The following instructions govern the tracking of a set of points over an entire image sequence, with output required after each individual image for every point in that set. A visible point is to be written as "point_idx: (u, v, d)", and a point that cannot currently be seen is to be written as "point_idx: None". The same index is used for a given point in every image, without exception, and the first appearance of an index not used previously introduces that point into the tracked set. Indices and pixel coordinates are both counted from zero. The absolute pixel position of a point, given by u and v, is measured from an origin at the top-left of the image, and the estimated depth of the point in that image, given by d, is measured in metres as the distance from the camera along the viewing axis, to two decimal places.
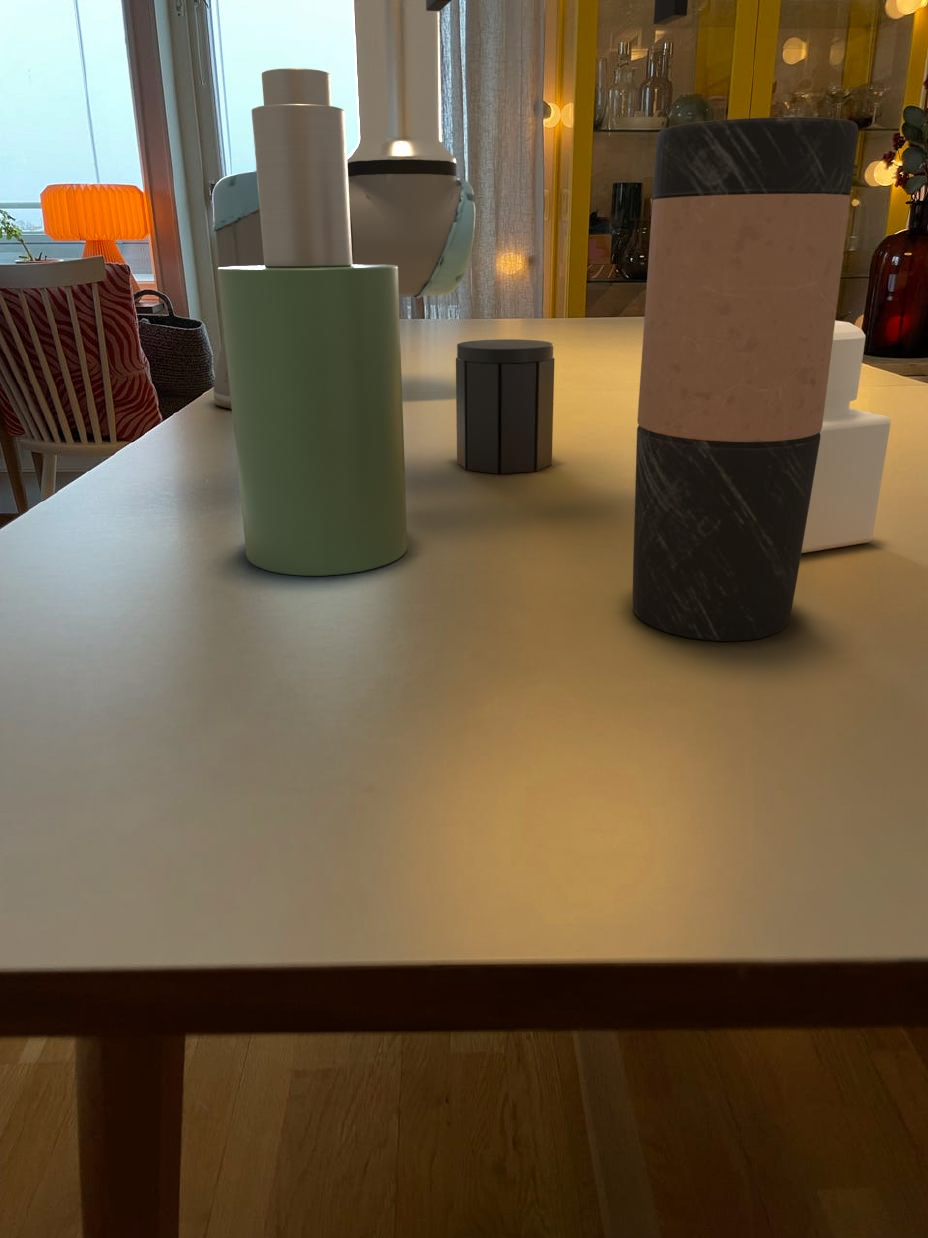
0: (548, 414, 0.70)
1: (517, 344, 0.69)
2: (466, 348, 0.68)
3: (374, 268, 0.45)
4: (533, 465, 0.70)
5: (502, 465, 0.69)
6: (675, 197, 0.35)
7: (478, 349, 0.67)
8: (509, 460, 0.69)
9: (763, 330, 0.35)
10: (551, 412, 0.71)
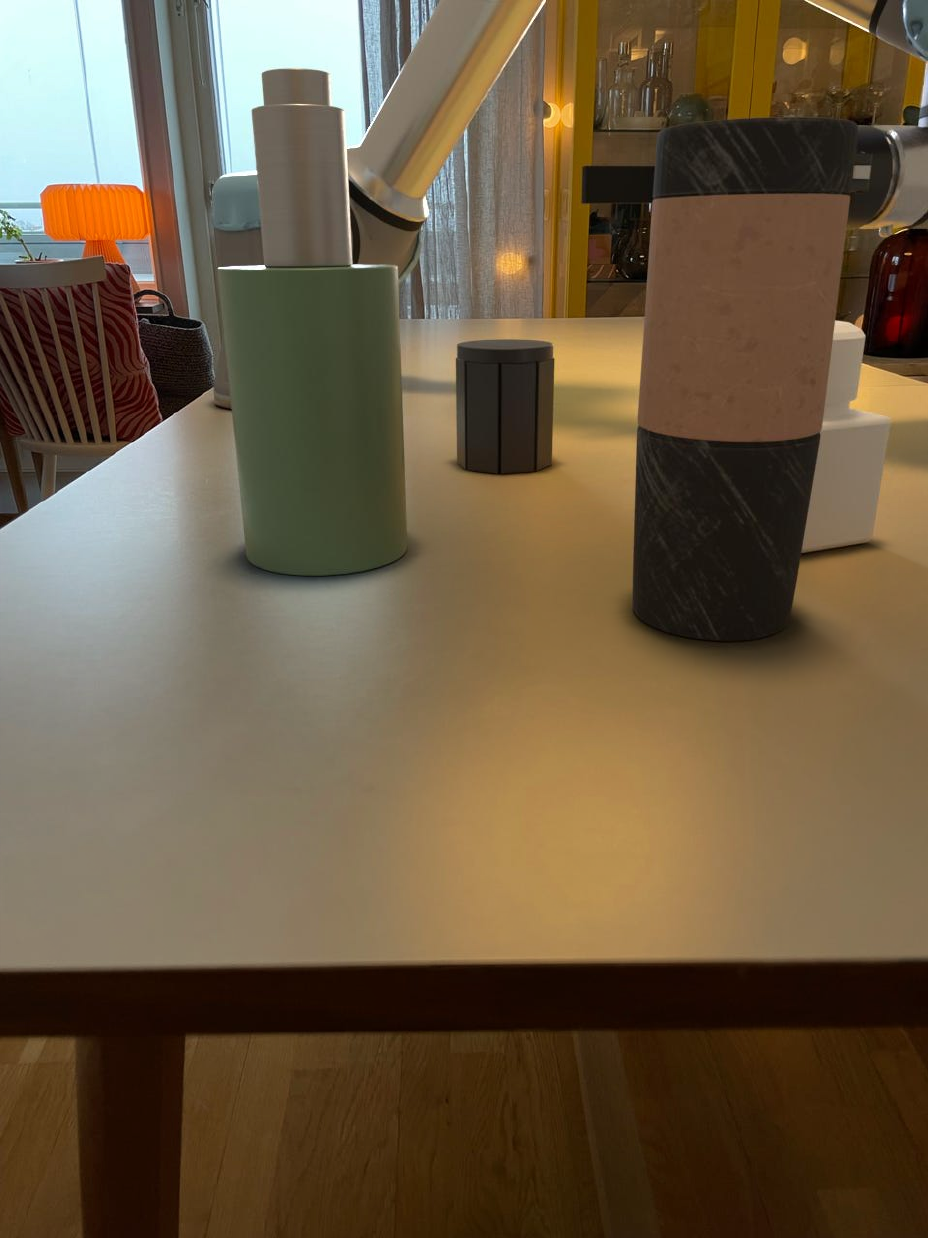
0: (548, 414, 0.70)
1: (517, 344, 0.69)
2: (466, 348, 0.68)
3: (374, 268, 0.45)
4: (533, 465, 0.70)
5: (502, 465, 0.69)
6: (675, 197, 0.35)
7: (478, 349, 0.67)
8: (509, 460, 0.69)
9: (763, 330, 0.35)
10: (551, 412, 0.71)
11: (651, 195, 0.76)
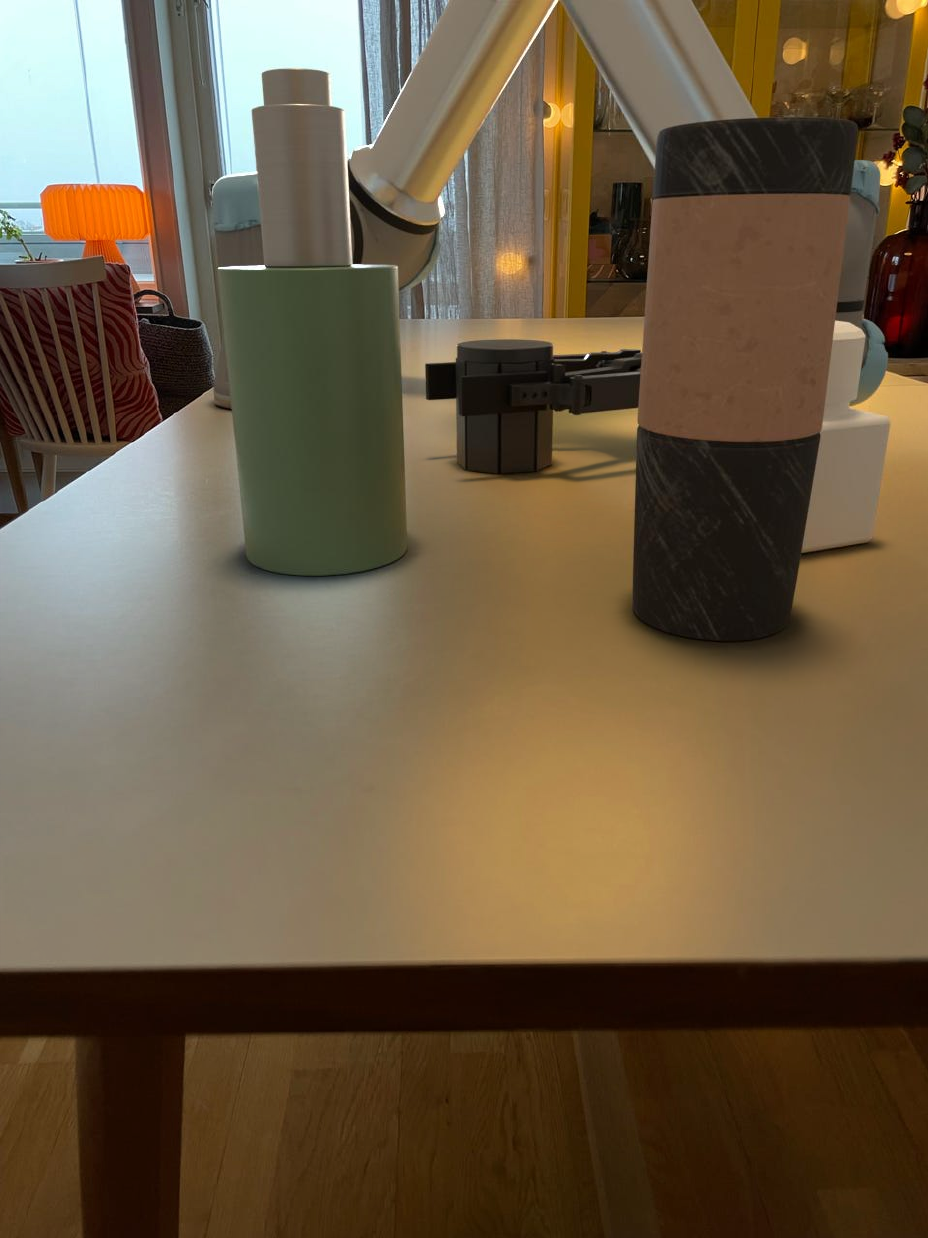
0: (548, 414, 0.70)
1: (517, 344, 0.69)
2: (466, 348, 0.68)
3: (374, 268, 0.45)
4: (533, 465, 0.70)
5: (502, 465, 0.69)
6: (675, 197, 0.35)
7: (478, 349, 0.67)
8: (509, 460, 0.69)
9: (763, 330, 0.35)
10: (551, 412, 0.71)
11: None
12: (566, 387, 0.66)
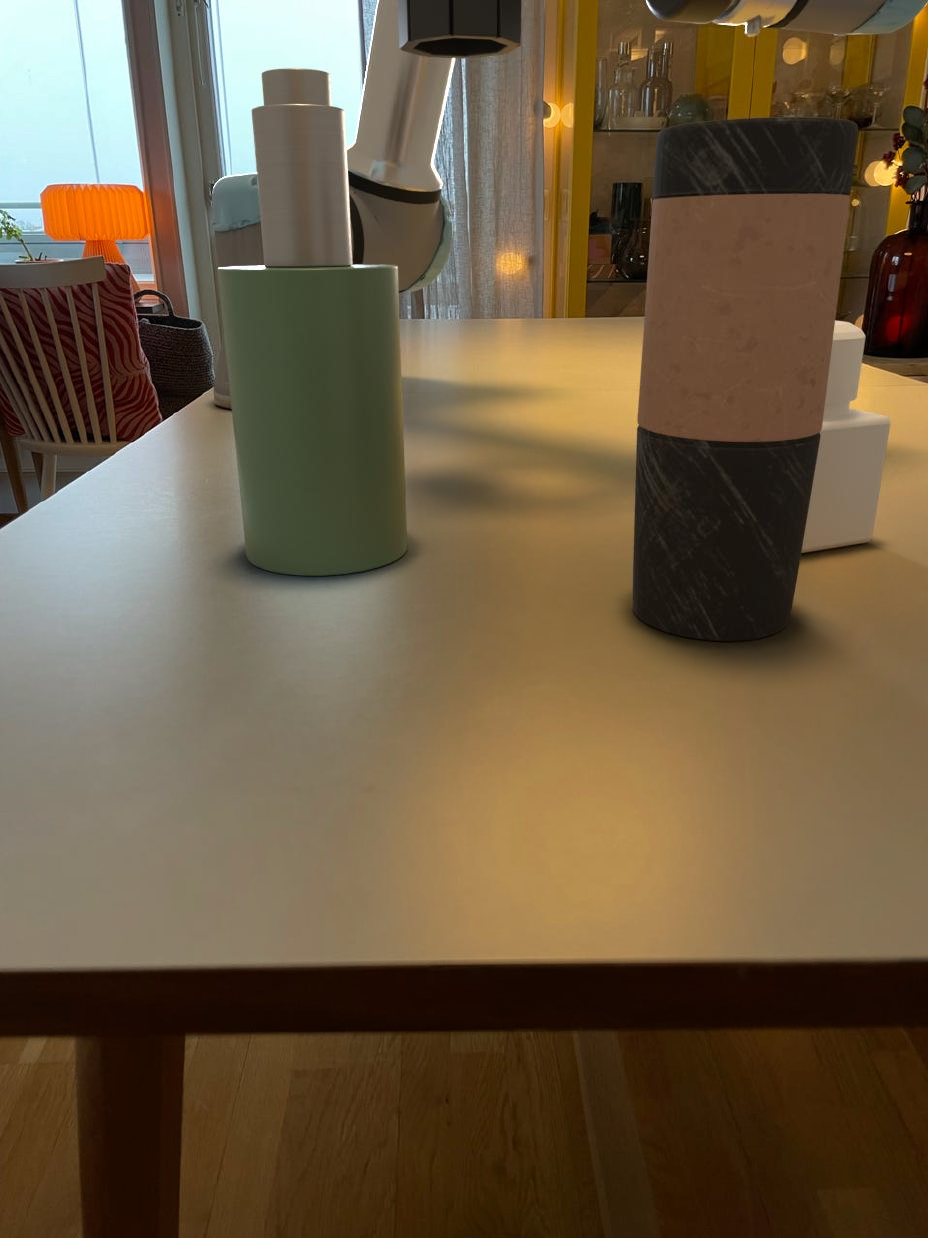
0: None
1: None
2: None
3: (374, 268, 0.45)
4: (496, 27, 0.54)
5: (455, 21, 0.53)
6: (675, 197, 0.35)
7: None
8: (463, 14, 0.53)
9: (763, 330, 0.35)
10: None
11: None
12: None
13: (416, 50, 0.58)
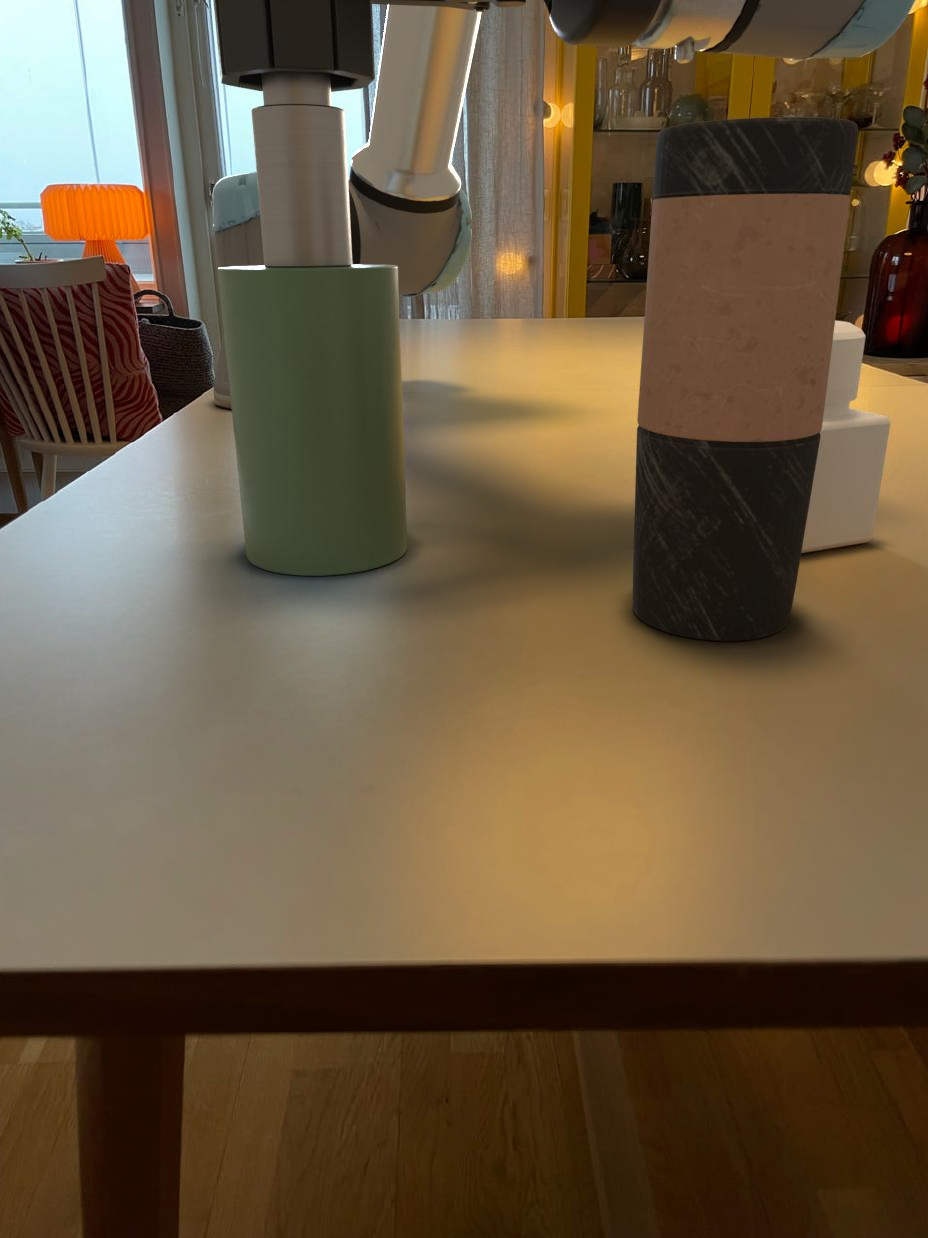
0: None
1: None
2: None
3: (374, 268, 0.45)
4: (332, 57, 0.41)
5: (276, 50, 0.41)
6: (675, 197, 0.35)
7: None
8: (287, 41, 0.41)
9: (763, 330, 0.35)
10: None
11: None
12: None
13: (245, 84, 0.45)
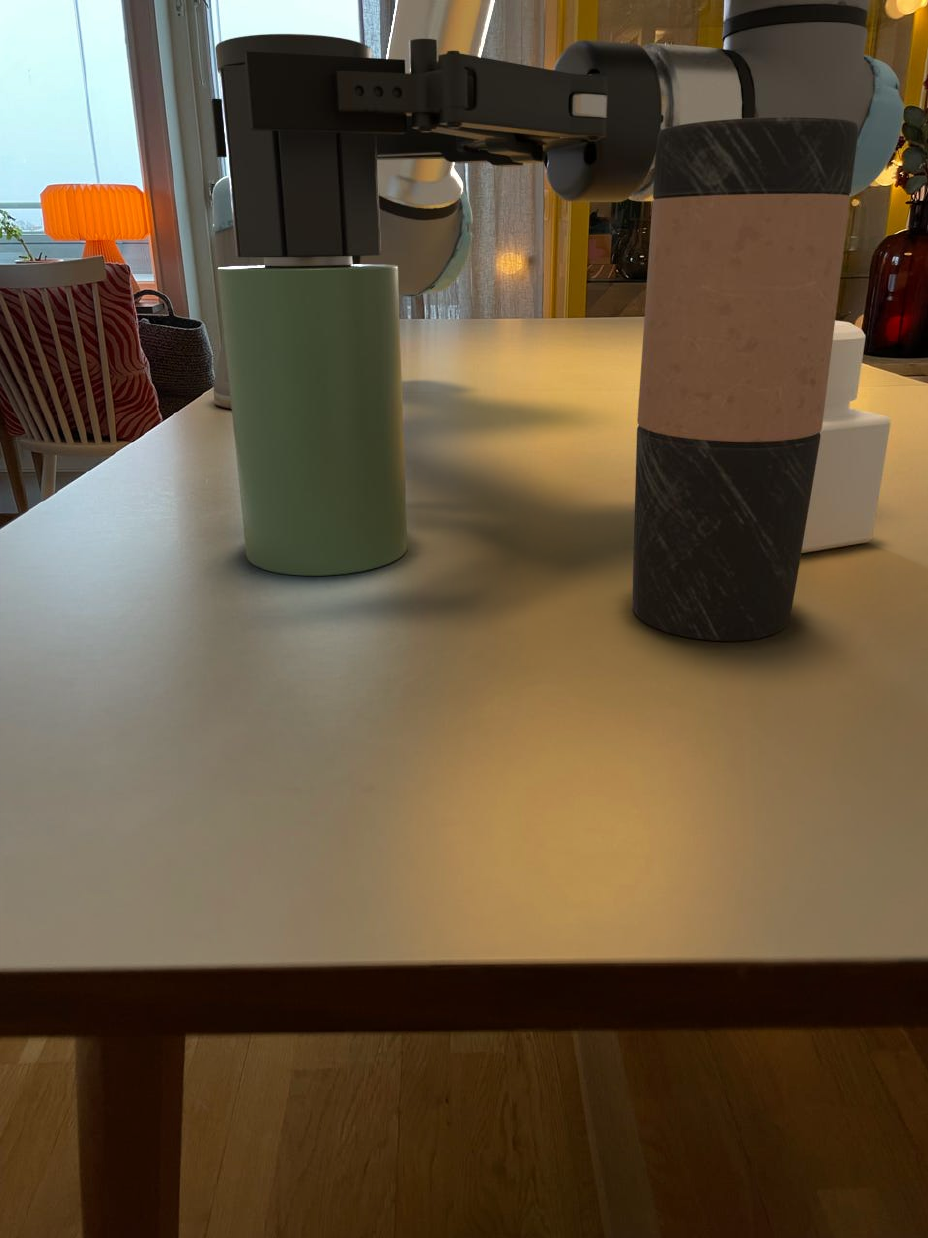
0: (366, 165, 0.44)
1: None
2: (221, 43, 0.42)
3: (374, 268, 0.45)
4: (341, 245, 0.44)
5: (288, 242, 0.43)
6: (675, 197, 0.35)
7: (237, 39, 0.41)
8: (299, 233, 0.43)
9: (763, 330, 0.35)
10: (372, 164, 0.45)
11: None
12: (433, 75, 0.38)
13: None
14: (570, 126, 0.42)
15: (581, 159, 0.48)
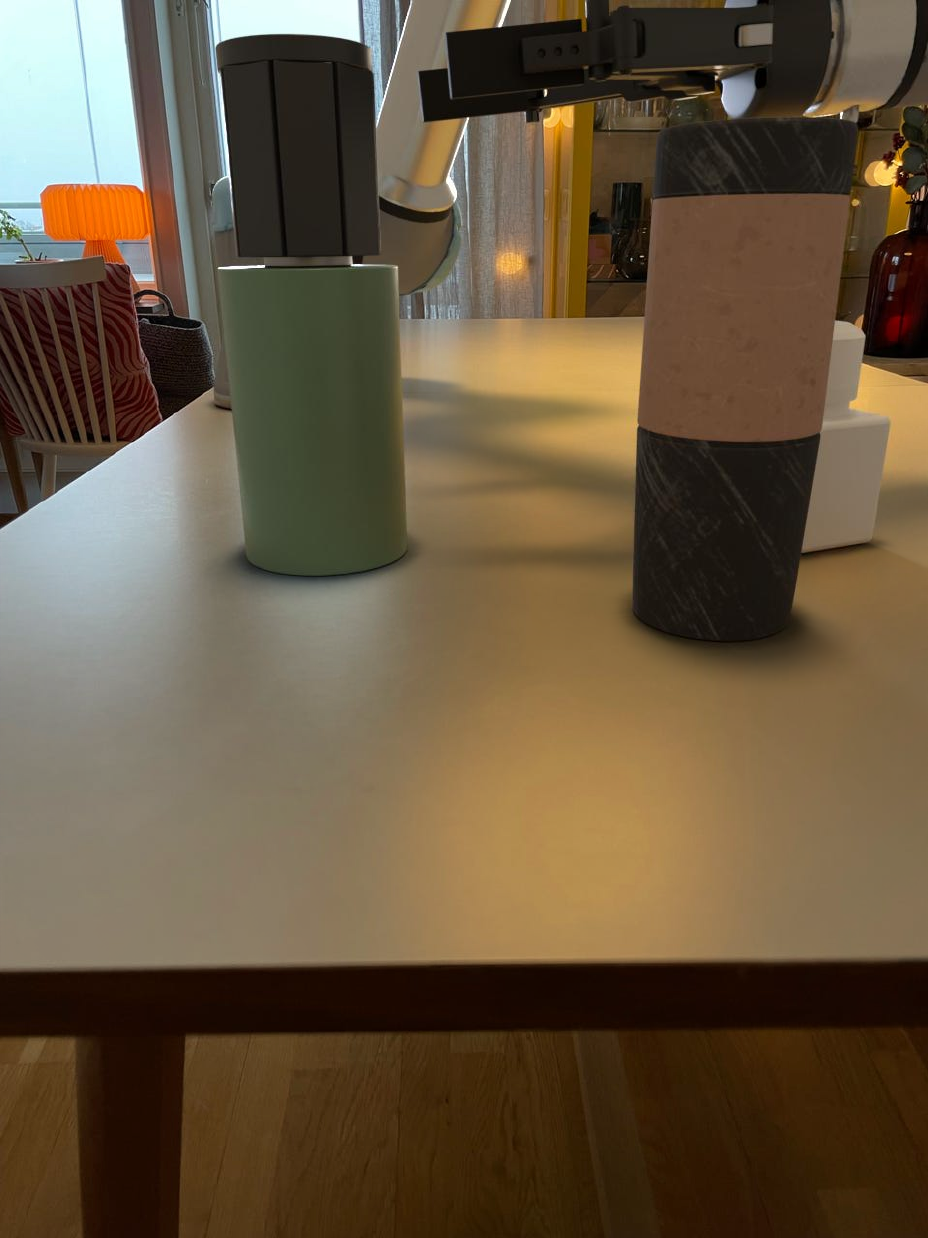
0: (366, 165, 0.44)
1: None
2: (221, 43, 0.42)
3: (374, 268, 0.45)
4: (341, 245, 0.44)
5: (288, 242, 0.43)
6: (675, 197, 0.35)
7: (237, 39, 0.41)
8: (299, 233, 0.43)
9: (763, 330, 0.35)
10: (372, 164, 0.45)
11: (517, 101, 0.57)
12: (606, 30, 0.43)
13: None
14: (736, 57, 0.46)
15: (753, 84, 0.51)
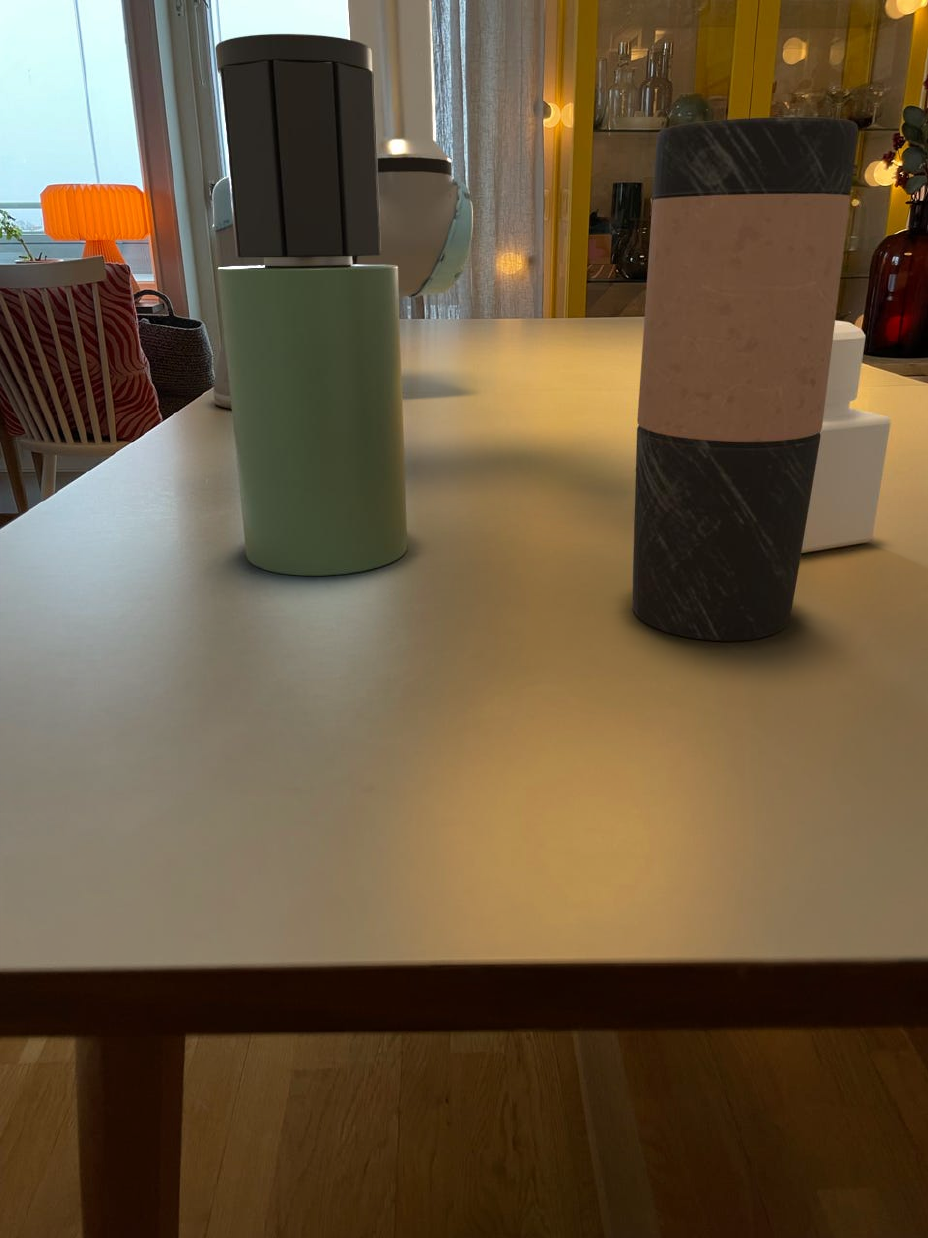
0: (366, 165, 0.44)
1: None
2: (221, 43, 0.42)
3: (374, 268, 0.45)
4: (341, 245, 0.44)
5: (288, 242, 0.43)
6: (675, 197, 0.35)
7: (237, 39, 0.41)
8: (299, 233, 0.43)
9: (763, 330, 0.35)
10: (372, 164, 0.45)
11: None
12: None
13: None
14: None
15: None
